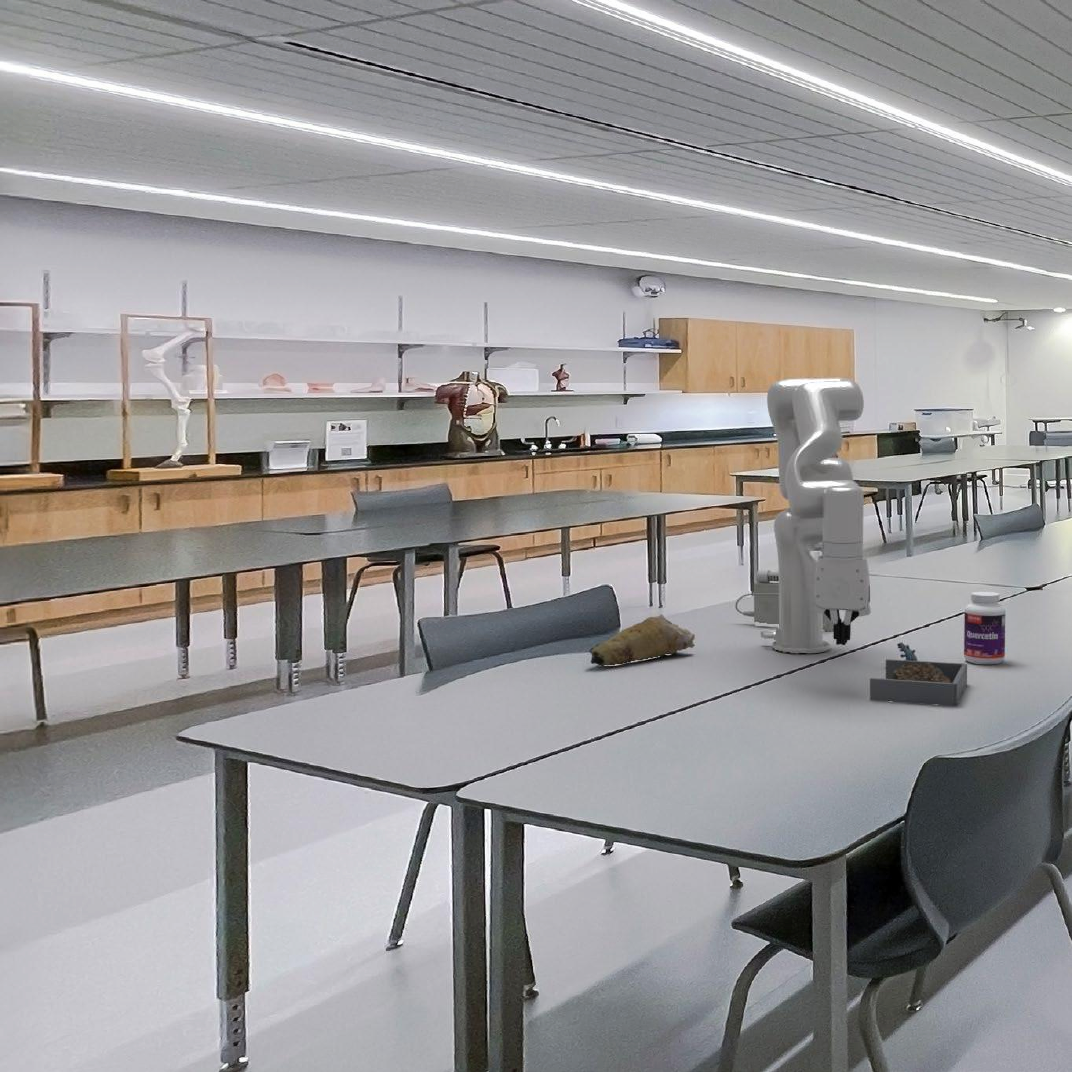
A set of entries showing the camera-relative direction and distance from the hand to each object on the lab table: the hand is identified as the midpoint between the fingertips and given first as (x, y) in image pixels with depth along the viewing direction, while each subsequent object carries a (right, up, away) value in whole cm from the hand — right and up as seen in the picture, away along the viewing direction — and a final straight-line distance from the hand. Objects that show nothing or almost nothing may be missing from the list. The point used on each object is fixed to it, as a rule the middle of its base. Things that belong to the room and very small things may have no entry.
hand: (841, 643), depth 242 cm
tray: (+13, -9, -6) cm, 17 cm away
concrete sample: (+14, -9, -7) cm, 18 cm away
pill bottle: (+34, -6, +19) cm, 39 cm away
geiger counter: (+1, -2, +64) cm, 64 cm away
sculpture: (+17, -7, +15) cm, 24 cm away
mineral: (-37, -7, +30) cm, 48 cm away
